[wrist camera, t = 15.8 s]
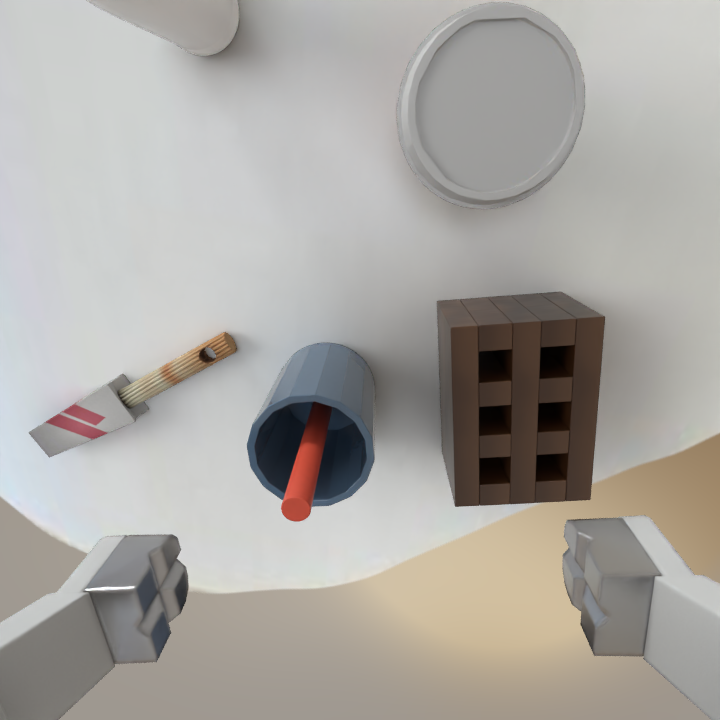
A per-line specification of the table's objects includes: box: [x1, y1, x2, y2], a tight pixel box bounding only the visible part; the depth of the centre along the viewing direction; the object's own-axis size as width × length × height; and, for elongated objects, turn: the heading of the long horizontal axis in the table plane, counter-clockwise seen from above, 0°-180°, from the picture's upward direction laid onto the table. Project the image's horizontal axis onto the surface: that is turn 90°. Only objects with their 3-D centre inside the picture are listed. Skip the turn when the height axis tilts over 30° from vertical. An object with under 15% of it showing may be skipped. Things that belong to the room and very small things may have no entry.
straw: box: [281, 402, 332, 521], centre depth 34 cm, size 2×2×16 cm
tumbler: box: [247, 343, 375, 507], centre depth 37 cm, size 8×8×11 cm
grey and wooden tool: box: [29, 332, 237, 457], centre depth 42 cm, size 4×3×20 cm
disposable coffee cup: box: [397, 2, 585, 209], centre depth 30 cm, size 10×10×12 cm
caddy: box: [437, 292, 605, 507], centre depth 38 cm, size 10×14×8 cm
